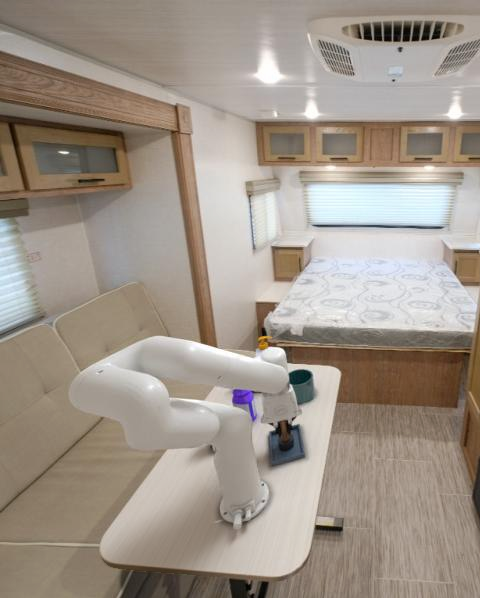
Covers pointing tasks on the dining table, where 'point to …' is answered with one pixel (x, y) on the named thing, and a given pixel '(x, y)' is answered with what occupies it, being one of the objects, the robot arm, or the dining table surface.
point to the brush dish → (286, 456)
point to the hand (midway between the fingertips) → (284, 432)
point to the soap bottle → (262, 345)
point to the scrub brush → (285, 437)
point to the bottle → (245, 401)
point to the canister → (302, 385)
